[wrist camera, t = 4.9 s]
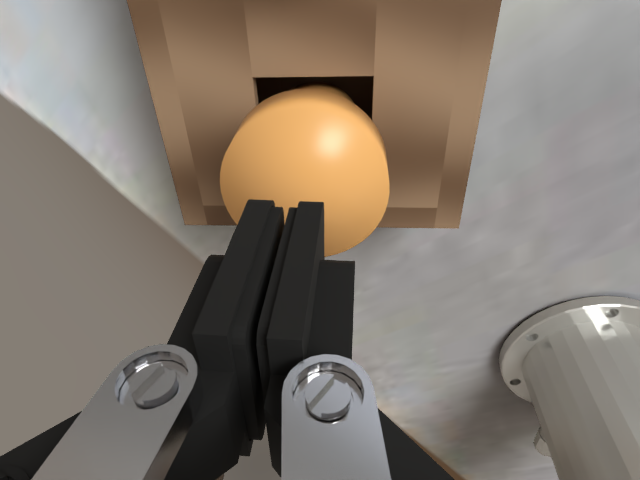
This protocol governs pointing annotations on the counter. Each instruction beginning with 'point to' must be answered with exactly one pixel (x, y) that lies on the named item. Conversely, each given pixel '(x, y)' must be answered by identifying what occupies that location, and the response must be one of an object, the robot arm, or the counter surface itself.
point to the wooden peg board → (330, 67)
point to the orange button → (310, 161)
